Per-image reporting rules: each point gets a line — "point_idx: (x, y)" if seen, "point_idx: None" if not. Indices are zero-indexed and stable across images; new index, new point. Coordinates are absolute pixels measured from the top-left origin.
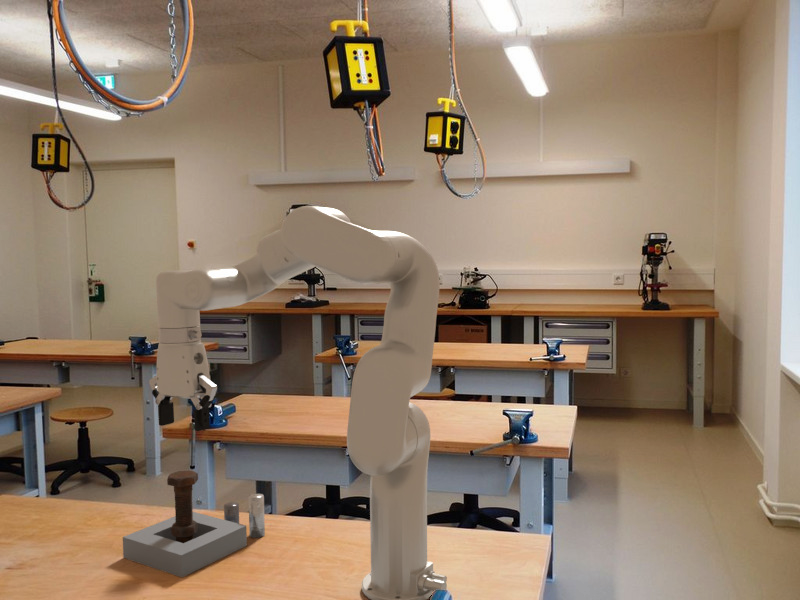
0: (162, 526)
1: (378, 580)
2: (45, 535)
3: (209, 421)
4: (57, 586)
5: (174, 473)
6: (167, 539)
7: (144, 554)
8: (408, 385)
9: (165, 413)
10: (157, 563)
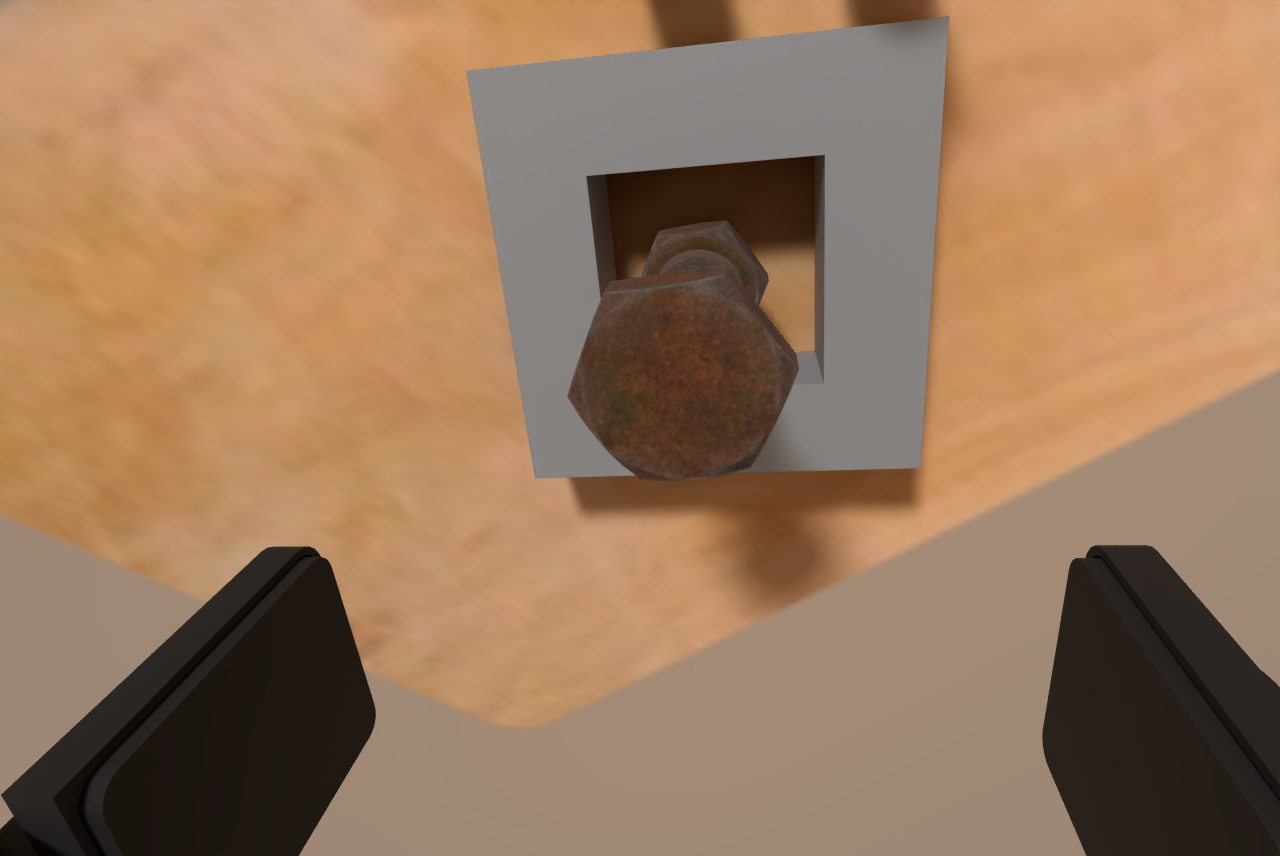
0: (562, 310)
1: None
2: (140, 472)
3: (1202, 603)
4: (591, 657)
5: (608, 409)
6: None
7: None
8: None
9: (275, 799)
10: None
